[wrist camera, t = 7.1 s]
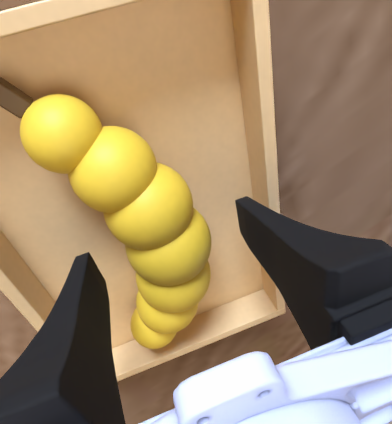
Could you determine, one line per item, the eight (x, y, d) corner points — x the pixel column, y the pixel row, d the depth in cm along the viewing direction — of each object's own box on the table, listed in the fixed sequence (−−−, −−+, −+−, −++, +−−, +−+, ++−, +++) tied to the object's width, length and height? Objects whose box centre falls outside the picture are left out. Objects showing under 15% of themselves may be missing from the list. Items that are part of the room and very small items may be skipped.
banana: (218, 295, 21) (243, 348, 18) (132, 329, 21) (142, 389, 18) (152, 30, 12) (179, 44, 9) (-12, 76, 11) (-47, 108, 8)
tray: (268, 287, 23) (285, 313, 21) (90, 357, 22) (91, 392, 20) (235, -49, 12) (266, -57, 10) (-152, 50, 10) (-204, 63, 8)
